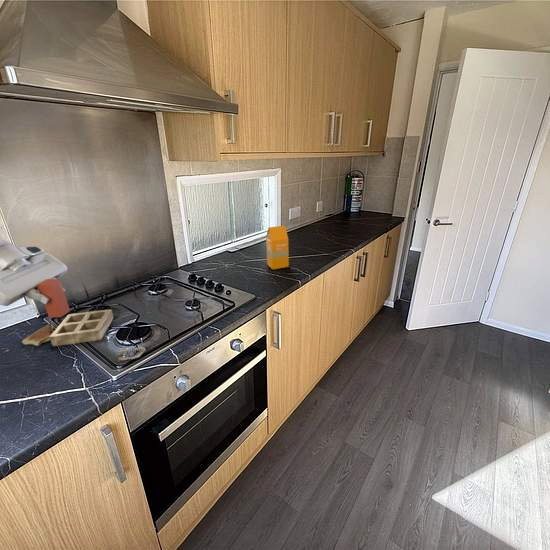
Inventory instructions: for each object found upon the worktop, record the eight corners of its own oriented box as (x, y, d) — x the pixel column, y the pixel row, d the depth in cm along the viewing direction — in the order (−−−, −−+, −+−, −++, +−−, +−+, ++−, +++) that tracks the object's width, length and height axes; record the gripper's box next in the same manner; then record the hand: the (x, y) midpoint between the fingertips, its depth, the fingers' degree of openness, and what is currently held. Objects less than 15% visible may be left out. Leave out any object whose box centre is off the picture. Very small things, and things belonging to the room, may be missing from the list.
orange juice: (288, 266, 146) (288, 227, 138) (272, 269, 143) (271, 229, 135) (282, 261, 152) (282, 223, 144) (266, 264, 149) (265, 225, 142)
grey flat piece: (113, 354, 86) (112, 349, 85) (142, 343, 90) (140, 338, 90) (119, 366, 81) (118, 360, 80) (149, 353, 86) (147, 348, 85)
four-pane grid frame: (52, 346, 90) (49, 337, 89) (71, 322, 103) (68, 314, 101) (101, 339, 93) (98, 330, 91) (113, 317, 105) (111, 309, 104)
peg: (48, 317, 81) (36, 284, 77) (58, 310, 84) (47, 278, 80) (61, 317, 81) (49, 284, 77) (70, 310, 84) (59, 278, 80)
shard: (52, 325, 101) (50, 321, 101) (71, 327, 100) (69, 322, 99) (22, 344, 92) (20, 339, 91) (42, 346, 90) (40, 341, 89)
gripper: (-27, 271, 67) (28, 308, 70) (44, 244, 85) (85, 275, 88) (-37, 288, 69) (18, 324, 72) (35, 258, 87) (75, 288, 91)
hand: (55, 297), depth 80 cm, fingers closed on peg, 3 cm apart
